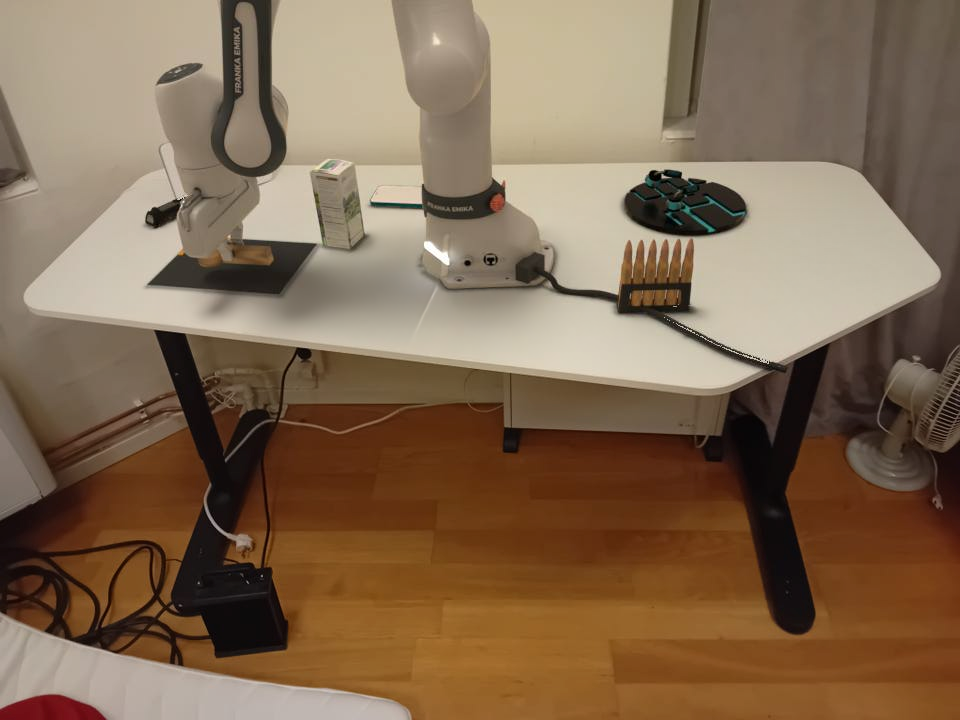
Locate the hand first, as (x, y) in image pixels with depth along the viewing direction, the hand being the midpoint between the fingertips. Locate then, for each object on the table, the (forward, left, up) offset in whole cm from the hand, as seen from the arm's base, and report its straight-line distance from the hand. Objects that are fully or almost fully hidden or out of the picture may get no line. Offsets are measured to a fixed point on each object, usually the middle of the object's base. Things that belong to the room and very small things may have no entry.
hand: (234, 254), depth 124 cm
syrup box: (-13, -15, -5) cm, 21 cm away
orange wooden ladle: (0, 0, -1) cm, 1 cm away
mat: (+3, -4, -5) cm, 7 cm away
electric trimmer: (+24, -23, -5) cm, 33 cm away
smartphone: (-21, -33, -5) cm, 39 cm away
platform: (-73, -35, -5) cm, 81 cm away
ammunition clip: (-68, 0, -5) cm, 69 cm away
